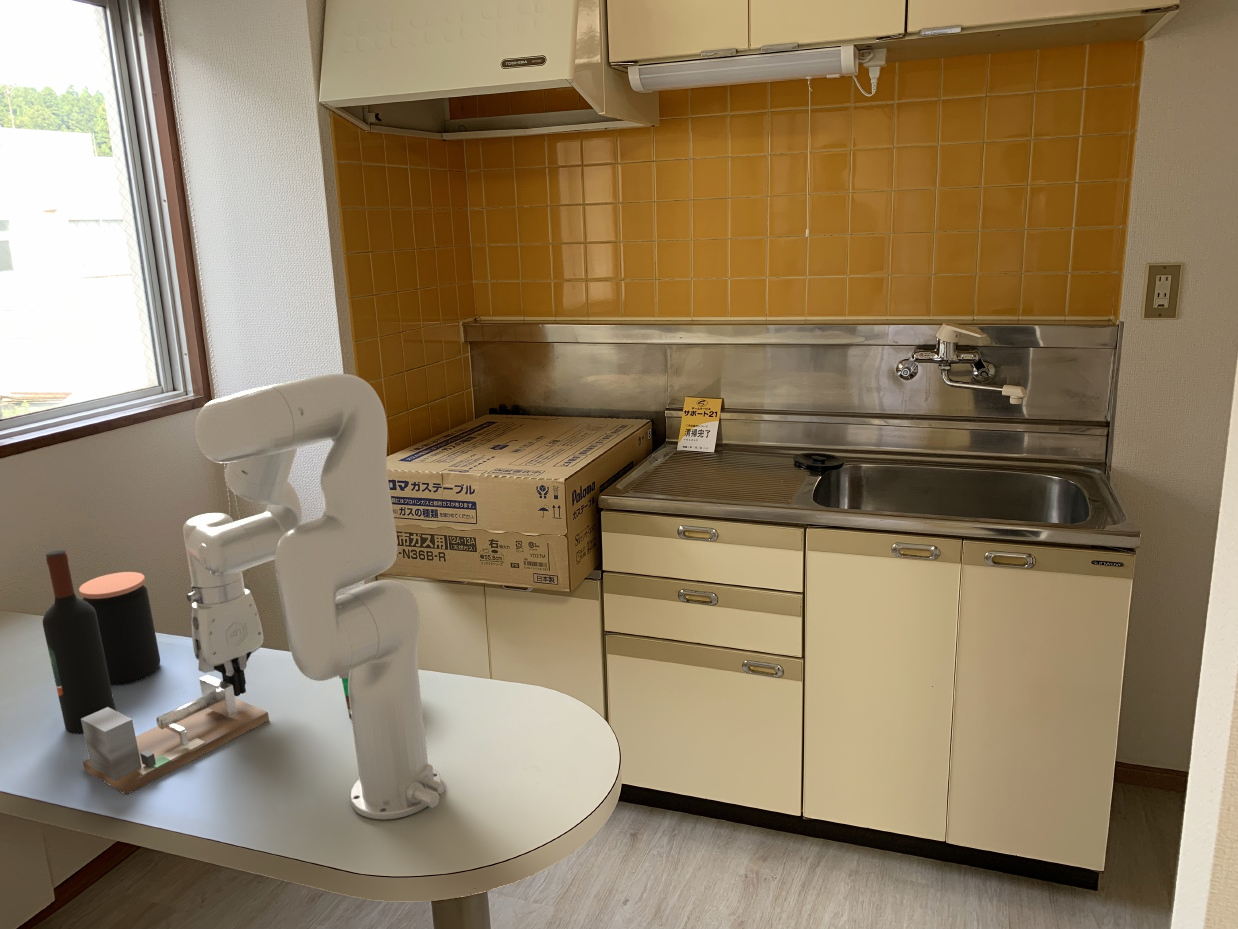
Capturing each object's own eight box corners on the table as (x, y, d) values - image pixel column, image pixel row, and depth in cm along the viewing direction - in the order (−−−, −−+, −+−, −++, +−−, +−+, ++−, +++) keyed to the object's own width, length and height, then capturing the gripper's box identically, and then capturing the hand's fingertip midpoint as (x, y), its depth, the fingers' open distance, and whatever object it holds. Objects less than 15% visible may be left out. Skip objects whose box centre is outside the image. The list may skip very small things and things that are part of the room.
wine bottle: (89, 737, 152) (53, 563, 145) (54, 730, 155) (16, 559, 147) (127, 713, 159) (93, 546, 152) (93, 708, 162) (58, 543, 154)
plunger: (242, 717, 152) (237, 687, 151) (180, 748, 144) (174, 717, 142) (212, 703, 157) (207, 674, 155) (150, 733, 148) (145, 703, 147)
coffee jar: (104, 666, 178) (85, 576, 173) (165, 656, 181) (149, 568, 176) (91, 691, 168) (72, 598, 163) (157, 680, 171) (139, 588, 166)
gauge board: (269, 720, 155) (260, 668, 153) (125, 795, 136) (113, 736, 134) (226, 701, 162) (218, 651, 159) (84, 770, 143) (72, 714, 141)
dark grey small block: (156, 764, 140) (153, 753, 140) (149, 767, 139) (147, 756, 139) (148, 760, 141) (146, 749, 141) (142, 763, 140) (140, 753, 140)
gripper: (189, 611, 144) (208, 719, 148) (273, 578, 155) (288, 679, 160) (162, 601, 148) (181, 706, 152) (245, 570, 160) (261, 669, 164)
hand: (236, 692), depth 156 cm, fingers closed
